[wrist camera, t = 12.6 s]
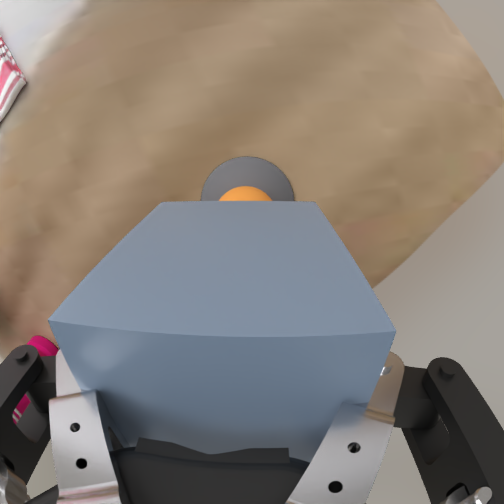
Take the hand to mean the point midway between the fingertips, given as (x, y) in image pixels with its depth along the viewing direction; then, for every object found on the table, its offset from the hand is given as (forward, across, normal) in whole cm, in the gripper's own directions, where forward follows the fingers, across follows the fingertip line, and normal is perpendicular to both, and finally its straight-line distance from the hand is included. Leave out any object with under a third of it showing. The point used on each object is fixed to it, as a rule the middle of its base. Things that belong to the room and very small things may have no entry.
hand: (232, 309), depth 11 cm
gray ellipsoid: (+16, 0, 0) cm, 16 cm away
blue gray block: (+3, 0, 0) cm, 3 cm away
